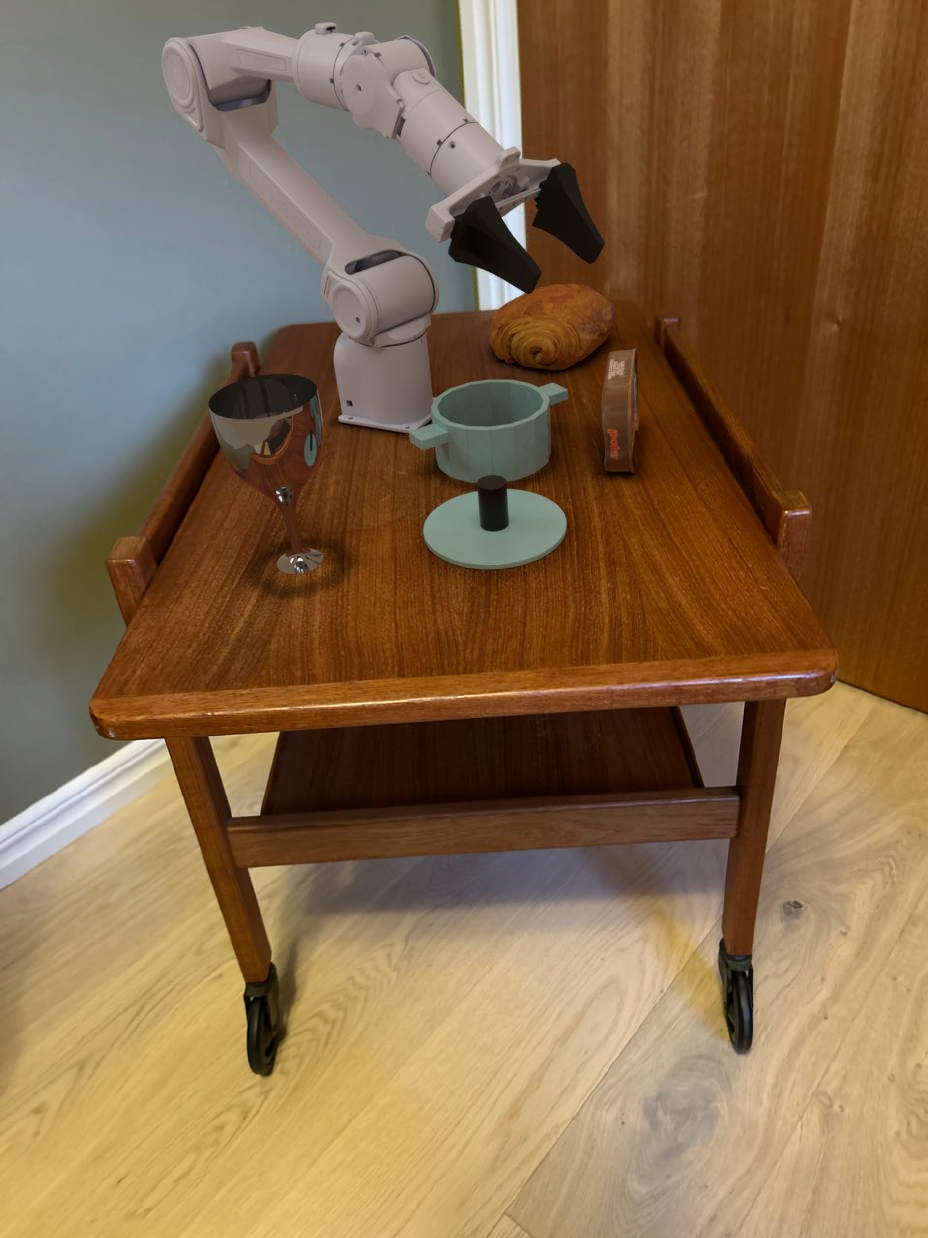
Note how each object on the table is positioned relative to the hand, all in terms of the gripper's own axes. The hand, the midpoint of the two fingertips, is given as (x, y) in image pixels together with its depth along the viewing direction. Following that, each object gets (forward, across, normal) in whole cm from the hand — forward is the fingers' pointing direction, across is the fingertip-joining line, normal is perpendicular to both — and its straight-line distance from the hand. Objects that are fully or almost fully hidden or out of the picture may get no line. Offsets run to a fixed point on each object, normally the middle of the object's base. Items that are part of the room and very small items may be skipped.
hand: (567, 268), depth 72 cm
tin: (+11, +6, +16) cm, 20 cm away
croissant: (-8, +22, +29) cm, 37 cm away
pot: (+4, -3, +20) cm, 20 cm away
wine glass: (+3, -26, +19) cm, 32 cm away
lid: (+11, -12, +14) cm, 22 cm away
